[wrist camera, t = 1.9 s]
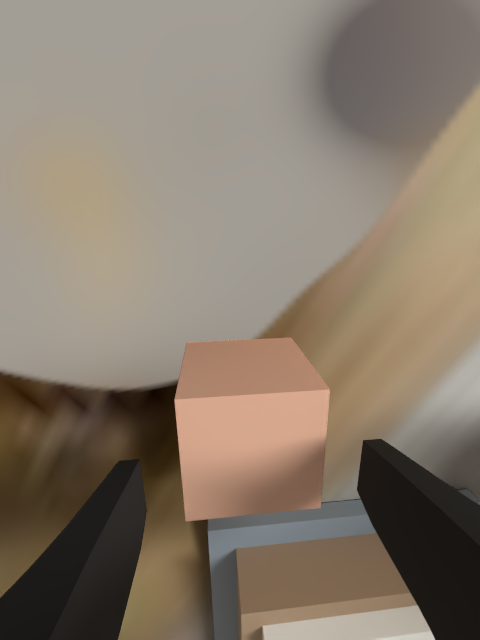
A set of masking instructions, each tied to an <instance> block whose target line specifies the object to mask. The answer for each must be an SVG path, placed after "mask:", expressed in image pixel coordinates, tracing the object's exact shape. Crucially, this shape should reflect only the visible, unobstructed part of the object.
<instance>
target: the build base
mask: <svg viewBox="0 0 480 640" xmlns="http://www.w3.org/2000/svg"><path fill="white" fill-rule="evenodd" d="M457 491H459V492H460V493H462V494H463V495H465V496H466V497H468V498H469V499H471V500H472V501H474V502H476V503H477V504H479V505H480V500H479V499H478V498H477V497H476V496H475V495H474V494H473V493H472V492H471V491H470V490H469V489H461V490H457ZM208 543H209V559H210V575H211V591H212V607H213V623H214V639H215V640H435V638H434V636H433V634H432V632H431V630H430V628H429V626H428V624H427V622H426V620H425V618H424V616H423V615H422V613H421V611H420V609H419V607H418V605H417V604H416V602H415V600H414V598H413V596H412V595H411V593H410V591H409V589H408V588H407V586H406V584H405V582H404V581H403V579H402V577H401V575H400V574H399V572H398V570H397V568H396V566H395V565H394V563H393V561H392V559H391V558H390V556H389V554H388V552H387V551H386V549H385V547H384V545H383V543H382V542H381V540H380V538H379V536H378V534H377V533H376V531H375V529H374V527H373V525H372V523H371V521H370V519H369V517H368V514H367V512H366V510H365V508H364V505H363V503H362V500H361V499H359V500H348V501H338V502H328V503H321V508H317V509H307V510H296V511H286V512H276V513H266V514H256V515H246V516H236V517H226V518H215V519H208Z"/></svg>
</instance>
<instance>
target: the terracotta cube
mask: <svg viewBox="0 0 480 640" xmlns="http://www.w3.org/2000/svg"><path fill="white" fill-rule="evenodd" d="M329 395H330V389H329V388H328V386H327V385H326V384H325V382H324V381H323V380H322V378H321V377H320V376H319V374H318V373H317V372H316V370H315V369H314V368H313V366H312V365H311V364H310V362H309V361H308V359H307V358H306V357H305V355H304V354H303V353H302V351H301V350H300V349H299V347H298V346H297V345H296V343H295V342H294V341H293V339H292V338H274V339H241V340H222V341H201V342H187V344H186V348H185V353H184V358H183V363H182V367H181V372H180V376H179V381H178V386H177V390H176V395H175V411H176V421H177V432H178V443H179V454H180V465H181V476H182V487H183V498H184V509H185V519H186V521H195V520H205V519H215V518H226V517H236V516H246V515H256V514H266V513H276V512H286V511H296V510H307V509H317V508H321V496H322V483H323V470H324V458H325V445H326V433H327V420H328V407H329Z"/></svg>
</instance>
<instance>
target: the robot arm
mask: <svg viewBox="0 0 480 640" xmlns="http://www.w3.org/2000/svg"><path fill="white" fill-rule="evenodd" d="M357 491H358V493H359V496H360V498H361V500H362V503H363V505H364V508H365V510H366V512H367V514H368V517H369V519H370V521H371V523H372V525H373V527H374V529H375V531H376V533H377V534H378V536H379V538H380V540H381V542H382V543H383V545H384V547H385V549H386V551H387V552H388V554H389V556H390V558H391V559H392V561H393V563H394V565H395V566H396V568H397V570H398V572H399V574H400V575H401V577H402V579H403V581H404V582H405V584H406V586H407V588H408V589H409V591H410V593H411V595H412V596H413V598H414V600H415V602H416V604H417V605H418V607H419V609H420V611H421V613H422V615H423V616H424V618H425V620H426V622H427V624H428V626H429V628H430V630H431V632H432V634H433V636H434V638H435V640H480V505H479V504H477V503H476V502H474V501H472V500H471V499H469V498H468V497H466V496H465V495H463V494H462V493H460V492H459V491H457V490H455V489H454V488H452V487H451V486H449V485H448V484H446V483H445V482H443V481H442V480H441V479H439V478H438V477H436V476H435V475H433V474H432V473H430V472H429V471H427V470H426V469H424V468H423V467H422V466H420V465H419V464H417V463H416V462H414V461H413V460H411V459H410V458H409V457H407V456H406V455H404V454H403V453H401V452H400V451H398V450H397V449H396V448H394V447H393V446H391V445H390V444H388V443H387V442H385V441H383V440H382V439H374V440H363V446H362V454H361V462H360V470H359V478H358V486H357ZM146 512H147V509H146V502H145V495H144V487H143V480H142V473H141V466H140V459H136V460H124V461H119V462H118V463H117V464H116V465H115V466H114V468H113V469H112V470H111V471H110V473H109V474H108V475H107V477H106V478H105V479H104V480H103V482H102V483H101V484H100V486H99V487H98V488H97V489H96V491H95V492H94V493H93V494H92V496H91V497H90V498H89V499H88V501H87V502H86V503H85V504H84V506H83V507H82V508H81V509H80V510H79V512H78V513H77V514H76V515H75V516H74V518H73V519H72V520H71V521H70V523H69V524H68V525H67V526H66V527H65V528H64V530H63V531H62V532H61V533H60V534H59V535H58V537H57V538H56V539H55V540H54V541H53V542H52V543H51V544H50V545H49V547H48V548H47V549H46V550H45V551H44V552H43V553H42V554H41V556H40V557H39V558H38V559H37V560H36V561H35V562H34V563H33V564H32V566H31V567H30V568H29V569H28V570H27V571H26V572H25V573H24V574H23V575H22V576H21V577H20V578H19V579H18V580H17V581H16V583H15V584H14V585H13V586H12V587H11V588H10V589H9V590H8V591H7V592H6V593H5V594H4V595H3V596H2V597H1V598H0V640H118V637H119V633H120V629H121V625H122V621H123V617H124V613H125V610H126V606H127V602H128V598H129V594H130V590H131V586H132V582H133V578H134V574H135V570H136V566H137V562H138V558H139V554H140V550H141V545H142V539H143V532H144V526H145V519H146Z"/></svg>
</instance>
